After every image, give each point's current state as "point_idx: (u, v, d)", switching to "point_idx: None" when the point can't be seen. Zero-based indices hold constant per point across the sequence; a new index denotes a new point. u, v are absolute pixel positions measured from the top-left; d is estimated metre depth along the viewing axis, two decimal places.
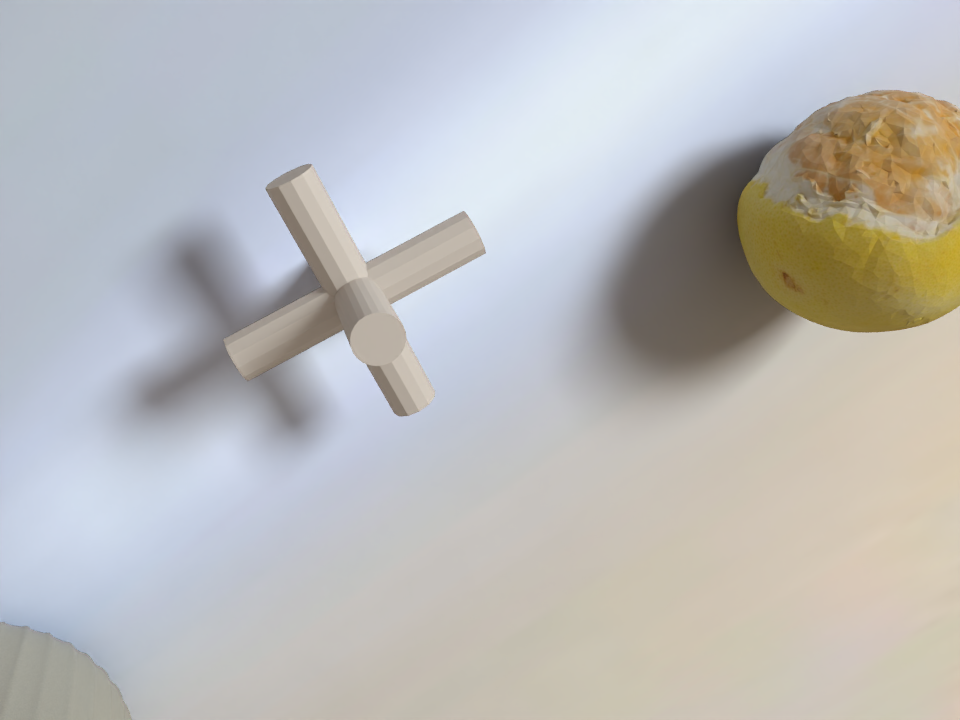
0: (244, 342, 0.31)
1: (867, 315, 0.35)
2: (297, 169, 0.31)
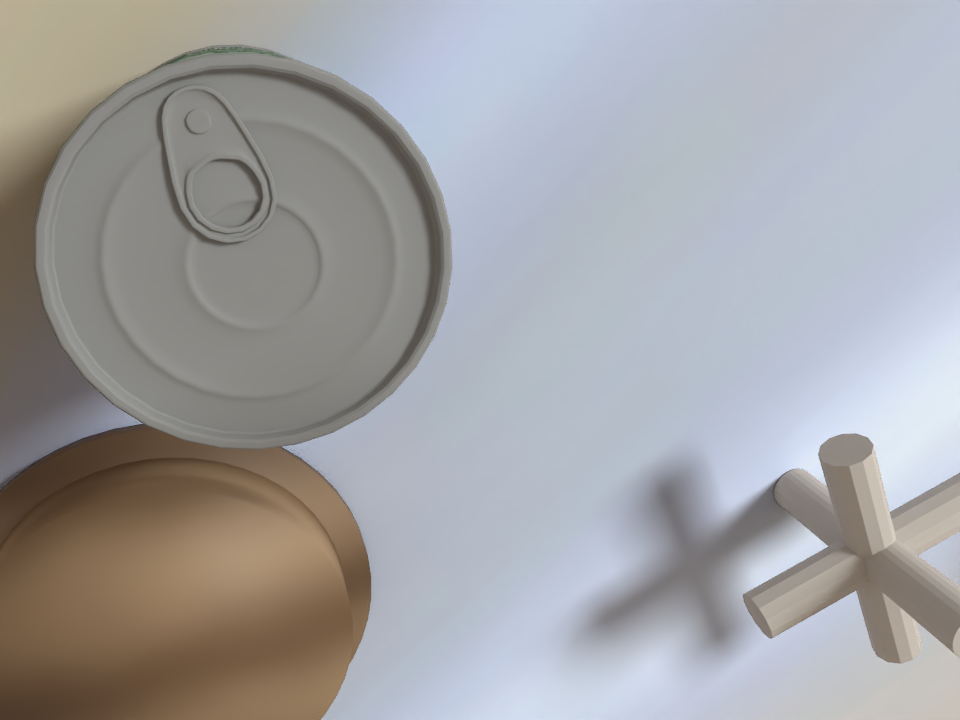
0: (778, 604, 0.31)
1: None
2: (846, 438, 0.31)
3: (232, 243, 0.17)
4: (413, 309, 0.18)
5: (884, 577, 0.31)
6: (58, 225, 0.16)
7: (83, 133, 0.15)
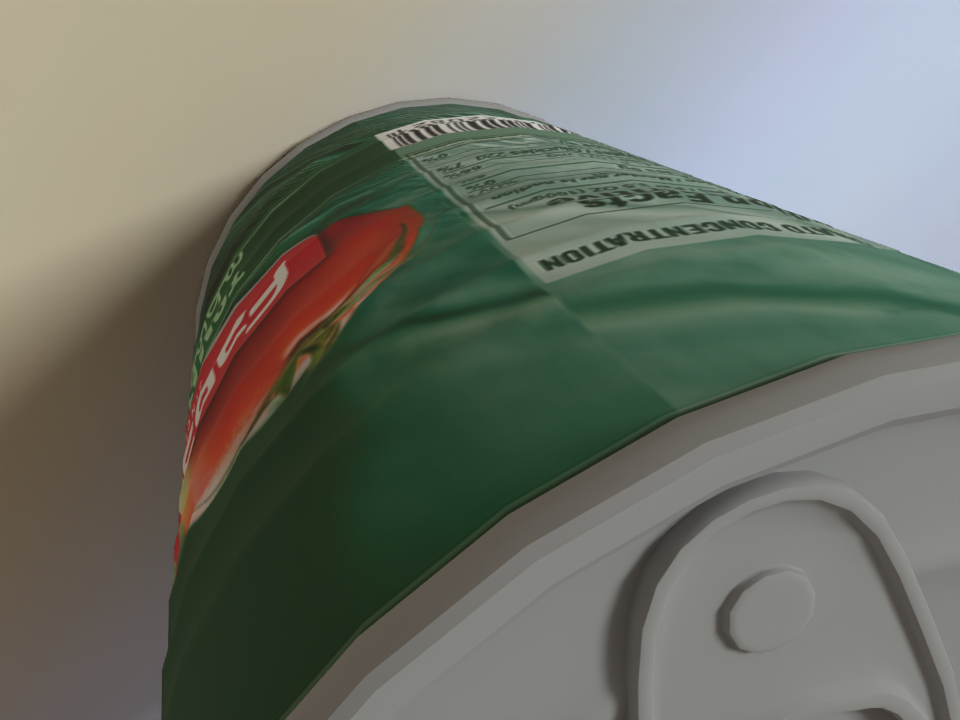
0: None
1: None
2: None
3: None
4: None
5: None
6: None
7: None
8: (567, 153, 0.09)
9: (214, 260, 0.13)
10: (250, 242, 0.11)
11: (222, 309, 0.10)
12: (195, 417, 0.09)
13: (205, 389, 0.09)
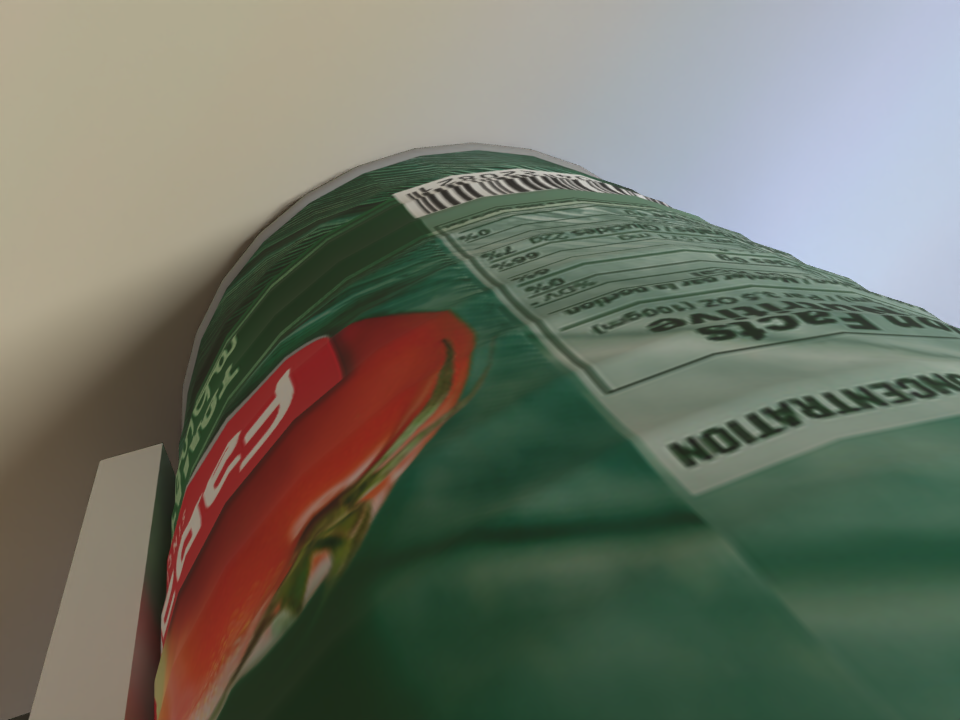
0: None
1: None
2: None
3: None
4: None
5: None
6: None
7: None
8: (644, 234, 0.07)
9: (203, 332, 0.11)
10: (245, 326, 0.09)
11: (211, 413, 0.08)
12: (176, 566, 0.07)
13: (188, 532, 0.07)
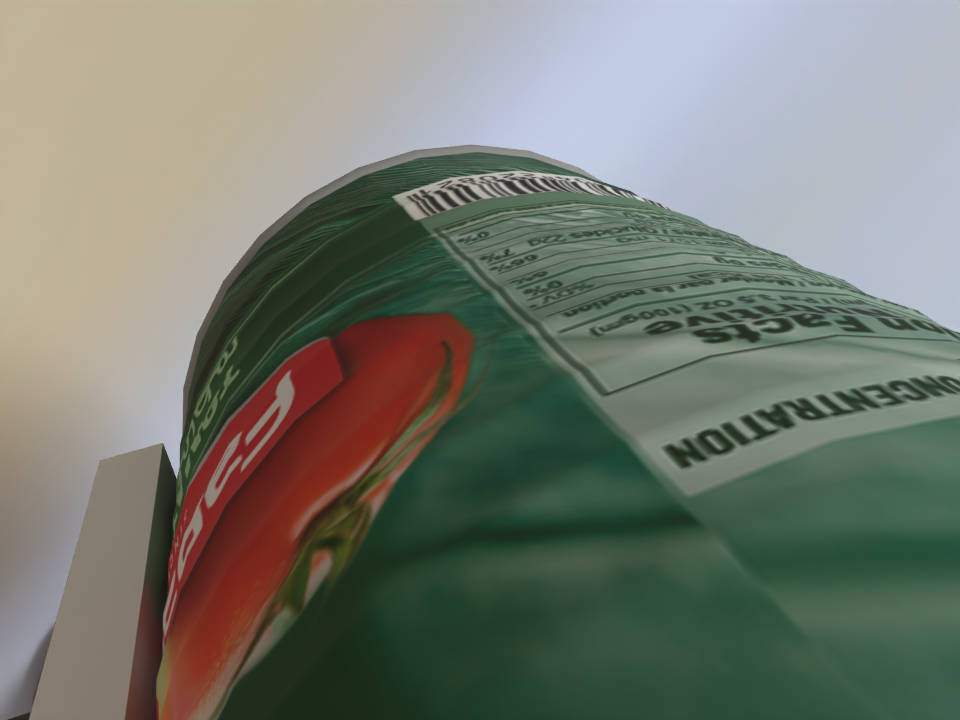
0: None
1: None
2: None
3: None
4: None
5: None
6: None
7: None
8: (642, 236, 0.07)
9: (204, 333, 0.11)
10: (246, 327, 0.09)
11: (212, 414, 0.08)
12: (178, 565, 0.07)
13: (190, 532, 0.07)
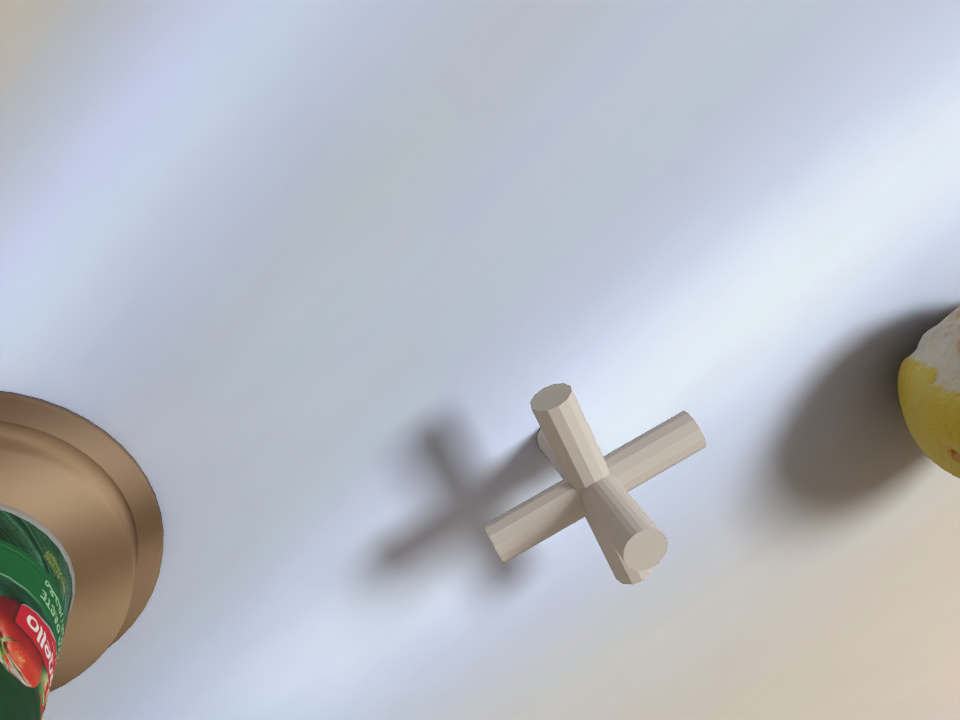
0: (505, 533, 0.36)
1: None
2: (555, 388, 0.36)
3: None
4: None
5: (590, 506, 0.36)
6: None
7: None
8: None
9: None
10: None
11: None
12: None
13: None
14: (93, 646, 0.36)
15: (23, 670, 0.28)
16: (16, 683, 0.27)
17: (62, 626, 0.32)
